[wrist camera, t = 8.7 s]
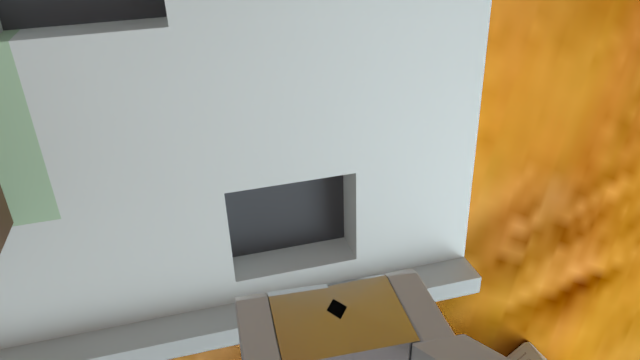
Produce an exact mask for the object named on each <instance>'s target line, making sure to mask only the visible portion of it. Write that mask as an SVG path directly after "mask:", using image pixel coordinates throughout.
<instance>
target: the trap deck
mask: <svg viewBox="0 0 640 360" xmlns="http://www.w3.org/2000/svg"><path fill="white" fill-rule="evenodd" d="M491 3H492V0H0V185H1V188H2V190H3V193H4V196H5V199H6V202H7V205H8V208H9V210H10V213H11V216H12V219H13V222H14V223H13V225H12V228H11V230H10V232H9V235H8V237H7V239H6V242H5V244H4V246H3V249H2V251H1V253H0V360H168V359H173V358H177V357H182V356H187V355H191V354H196V353H201V352H205V351H210V350H215V349H219V348H224V347H228V346H233V345H238V344H240V342H239V334H238V326H237V318H236V310H235V297H240V296H247V295H254V294H261V293H266V295H267V292H271V291H279V290H286V289H293V288H300V287H308V286H315V285H322V284H329V283H335V282H341V281H347V280H353V279H359V278H365V277H371V276H377V275H383V274H384V273H390V272H395V271H401V270H406V269H413V270H415V271H416V272H417V273H418V275H419V277H420V278H421V280H422V282H423V283H424V285H425V287H426V288H427V290H428V291H429V293H430V295H431V296H432V298H433V300H434V301H435V302H437V301H442V300H446V299H451V298H456V297H460V296H465V295H469V294H474V293H479V292H480V285H481V276H480V275H479V274H478V273H477V271H476V270H475V269H474V268H473V267H472V266H471V264H470V263H469V262H468V261H467V260H466V259H465V258H464V253H465V244H466V235H467V225H468V216H469V207H470V198H471V188H472V179H473V170H474V161H475V151H476V142H477V133H478V124H479V114H480V105H481V96H482V87H483V77H484V68H485V59H486V50H487V40H488V31H489V22H490V13H491Z"/></svg>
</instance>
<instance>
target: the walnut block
mask: <svg viewBox="0 0 640 360" xmlns="http://www.w3.org/2000/svg"><path fill="white" fill-rule="evenodd" d="M13 223H14V222H13V219H12V216H11V213H10V210H9V208H8V205H7V202H6V199H5V196H4V193H3V190H2V188H1V185H0V253H1V251H2V249H3V246H4V244H5V242H6V239H7V237H8V235H9V232H10V230H11V228H12V225H13Z"/></svg>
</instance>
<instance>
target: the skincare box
mask: <svg viewBox="0 0 640 360" xmlns="http://www.w3.org/2000/svg"><path fill="white" fill-rule="evenodd" d="M507 358H509V359H511V360H547V359H546V358H545V357H544V356H543V355H542V354H541V353H540V352H539V351H538V350H537V349H536V348H535V347H534V346H533V345H532V344H531V343H530V342H525V343H523V344H522V345H520V346H519V347H518V348H517V349H515V350H514V351H513V352H512V353H511V354H510V355H508V356H507Z"/></svg>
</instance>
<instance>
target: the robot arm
mask: <svg viewBox="0 0 640 360" xmlns="http://www.w3.org/2000/svg"><path fill="white" fill-rule="evenodd" d="M235 310H236V318H237V326H238V334H239V342H240V350H241V357H242V360H511V359H509V358H507V357H505V356H503V355H502V354H500V353H498V352H496V351H494V350H493V349H491V348H489V347H487V346H485V345H483V344H482V343H480V342H478V341H476V340H474V339H473V338H471V337H469V336H467V335H465V334H461V335H455V334H454V332H453V330H452V329H451V327H450V326H449V324H448V322H447V321H446V319H445V317H444V316H443V314H442V313H441V311H440V309H439V308H438V306H437V304H436V303H435V301H434V300H433V298H432V296H431V295H430V293H429V291H428V290H427V288H426V287H425V285H424V283H423V282H422V280H421V278H420V277H419V275H418V273H417V272H416V271H415V270H413V269H406V270H401V271H395V272H390V273H384V274H383V275H377V276H371V277H365V278H359V279H353V280H347V281H341V282H335V283H329V284H322V285H315V286H308V287H300V288H293V289H286V290H279V291H271V292H267V295H266V293H261V294H254V295H247V296H240V297H235Z"/></svg>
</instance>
